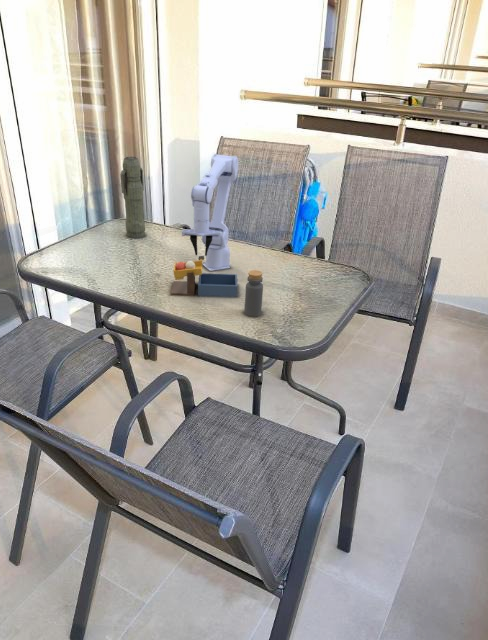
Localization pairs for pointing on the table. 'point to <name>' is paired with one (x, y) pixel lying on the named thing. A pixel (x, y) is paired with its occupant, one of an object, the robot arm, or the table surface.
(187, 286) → the dish stand
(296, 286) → the table surface
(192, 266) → the ball cream
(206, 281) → the bin
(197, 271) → the yellow tray
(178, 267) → the ball coral
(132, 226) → the stone statue
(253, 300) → the bottle
